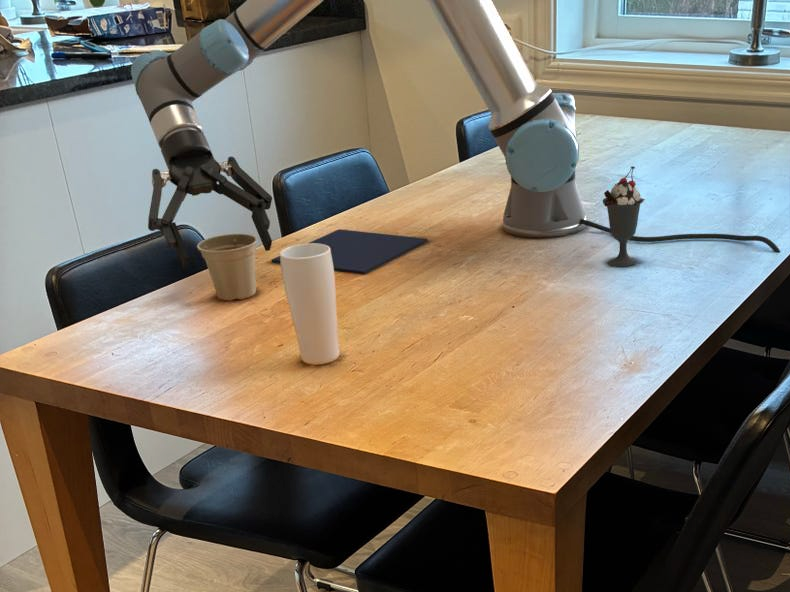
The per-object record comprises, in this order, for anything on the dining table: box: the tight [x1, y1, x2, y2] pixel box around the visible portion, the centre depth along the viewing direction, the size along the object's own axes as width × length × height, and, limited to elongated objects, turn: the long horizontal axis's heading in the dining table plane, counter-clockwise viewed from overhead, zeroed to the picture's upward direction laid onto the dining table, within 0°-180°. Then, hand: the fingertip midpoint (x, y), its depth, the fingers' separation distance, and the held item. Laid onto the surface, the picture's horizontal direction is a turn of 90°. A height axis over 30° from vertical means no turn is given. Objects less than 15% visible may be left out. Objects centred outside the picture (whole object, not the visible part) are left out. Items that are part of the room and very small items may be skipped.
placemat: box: [270, 229, 429, 275], centre depth 185 cm, size 20×20×1 cm
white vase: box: [278, 242, 341, 366], centre depth 138 cm, size 7×7×15 cm
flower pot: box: [196, 233, 259, 301], centre depth 166 cm, size 9×9×9 cm
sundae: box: [602, 166, 645, 268], centre depth 167 cm, size 7×7×15 cm
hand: (228, 254), depth 165 cm, fingers open, 13 cm apart
